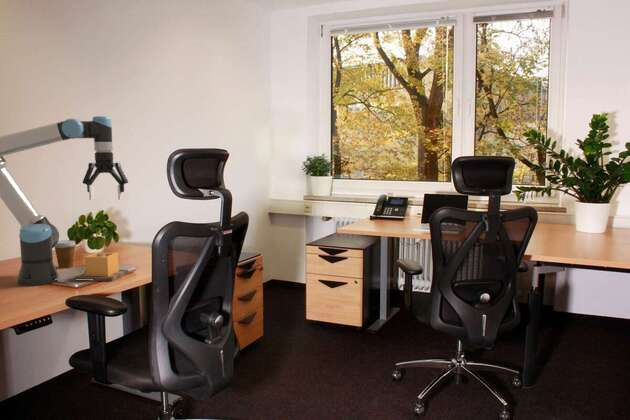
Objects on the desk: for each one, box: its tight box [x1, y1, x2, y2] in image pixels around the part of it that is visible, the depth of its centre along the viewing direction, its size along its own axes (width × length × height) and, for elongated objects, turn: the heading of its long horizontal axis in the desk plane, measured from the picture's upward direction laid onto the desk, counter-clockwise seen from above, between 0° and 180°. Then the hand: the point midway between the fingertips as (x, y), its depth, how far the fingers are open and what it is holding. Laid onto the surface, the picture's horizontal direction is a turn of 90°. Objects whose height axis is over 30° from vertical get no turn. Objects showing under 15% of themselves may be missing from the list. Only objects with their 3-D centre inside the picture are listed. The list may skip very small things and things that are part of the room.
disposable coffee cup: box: [54, 239, 77, 269], centre depth 254 cm, size 10×10×12 cm
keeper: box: [74, 254, 129, 282], centre depth 234 cm, size 16×16×10 cm
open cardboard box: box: [84, 252, 120, 276], centre depth 233 cm, size 10×10×8 cm
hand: (106, 199), depth 242 cm, fingers open, 13 cm apart
